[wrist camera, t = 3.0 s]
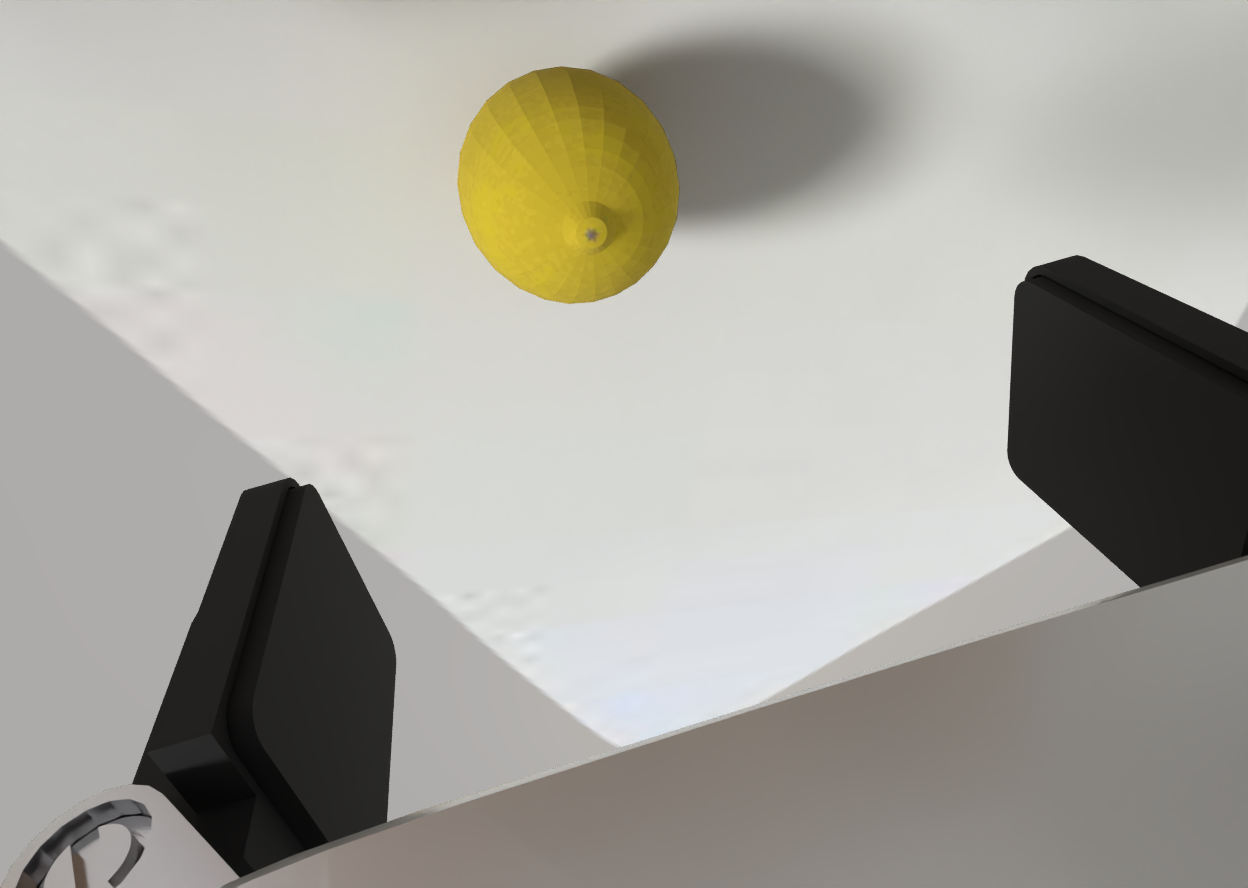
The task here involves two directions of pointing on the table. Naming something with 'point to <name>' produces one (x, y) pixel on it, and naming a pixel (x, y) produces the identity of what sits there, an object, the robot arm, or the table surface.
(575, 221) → the lemon
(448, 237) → the table surface
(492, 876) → the robot arm
